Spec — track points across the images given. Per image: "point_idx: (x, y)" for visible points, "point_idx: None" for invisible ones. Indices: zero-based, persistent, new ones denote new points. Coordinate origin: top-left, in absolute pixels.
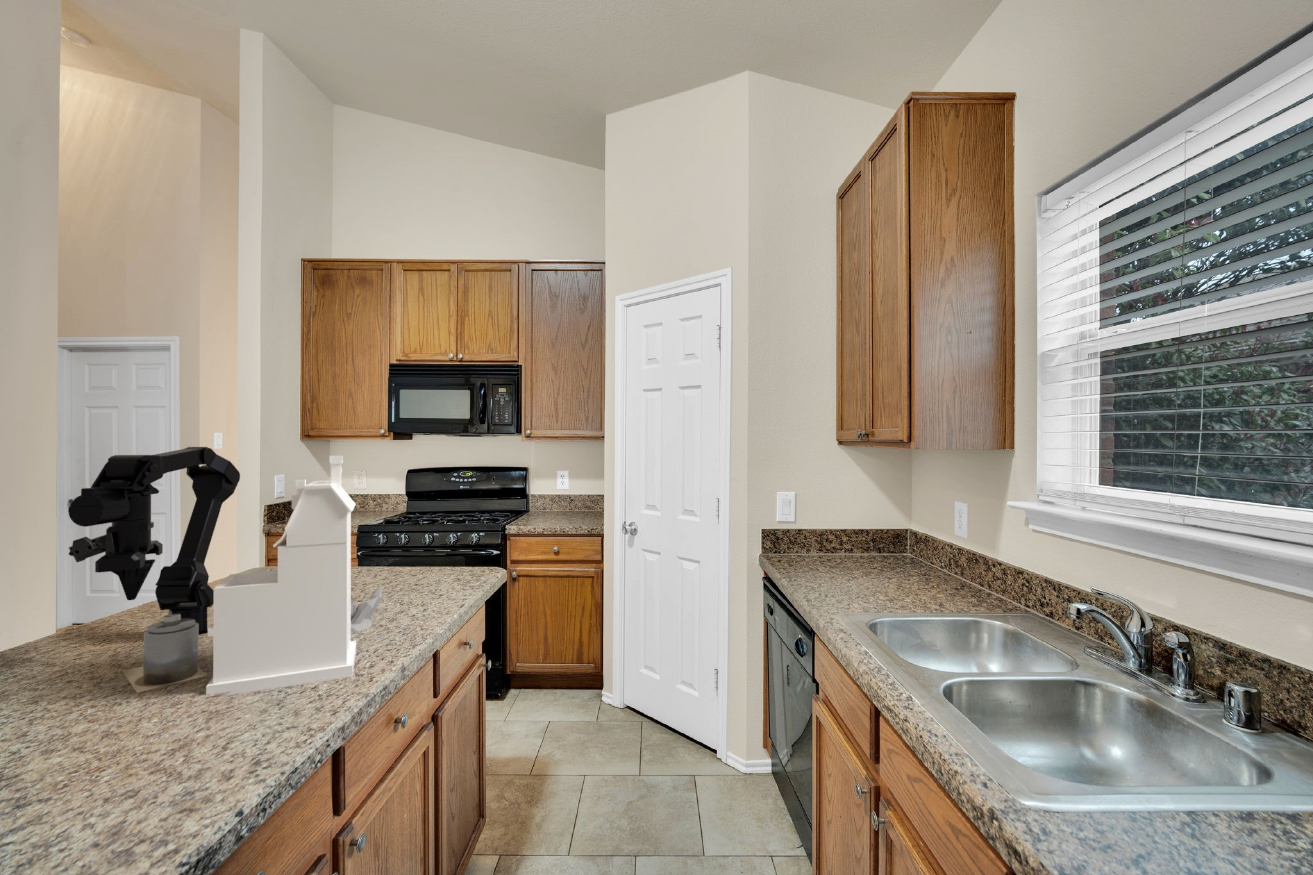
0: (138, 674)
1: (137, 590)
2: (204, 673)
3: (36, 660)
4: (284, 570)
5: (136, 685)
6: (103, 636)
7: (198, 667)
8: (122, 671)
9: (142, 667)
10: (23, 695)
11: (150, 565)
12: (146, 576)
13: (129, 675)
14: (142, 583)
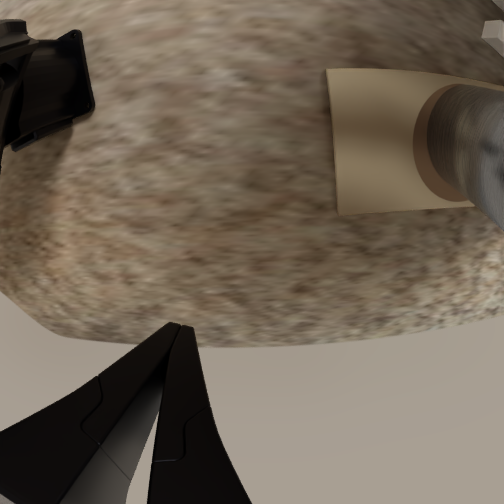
0: (401, 188)
1: (199, 365)
2: (499, 85)
3: (110, 322)
4: None
5: (468, 200)
6: (10, 245)
7: (455, 76)
8: (343, 215)
9: (347, 175)
10: (326, 334)
11: (65, 491)
12: (86, 397)
13: (392, 205)
14: (142, 377)
